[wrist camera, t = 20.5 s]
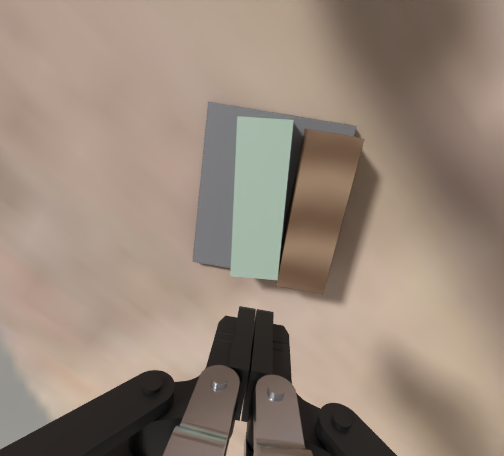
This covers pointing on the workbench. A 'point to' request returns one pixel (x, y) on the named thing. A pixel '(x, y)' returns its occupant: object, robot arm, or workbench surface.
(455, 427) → the workbench surface
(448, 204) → the workbench surface
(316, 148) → the walnut board
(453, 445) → the workbench surface
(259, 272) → the plank
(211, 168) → the base
